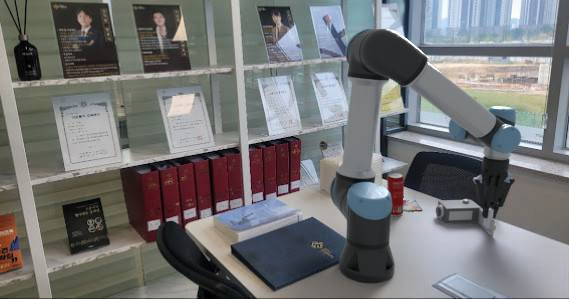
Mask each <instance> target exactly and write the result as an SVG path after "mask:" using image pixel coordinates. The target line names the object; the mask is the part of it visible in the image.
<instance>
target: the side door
mask: <svg viewBox="0 0 569 299" xmlns="http://www.w3.org/2000/svg"><path fill="white" fill-rule="evenodd" d="M482 211H483V208H482V207H481V208H479V217H478V222H477V224H479V225H480V226H481V227H482V228H483V229H484V230H485V231H486V232H487V233H488V235H489V236H492V237H493V236H494V233H495V231H496V228H497V224H496V220H495V219H494V218H493V219H492V222H491V229H487V228H486V227H485V226H483V222H484V217H483V216H482Z"/></svg>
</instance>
